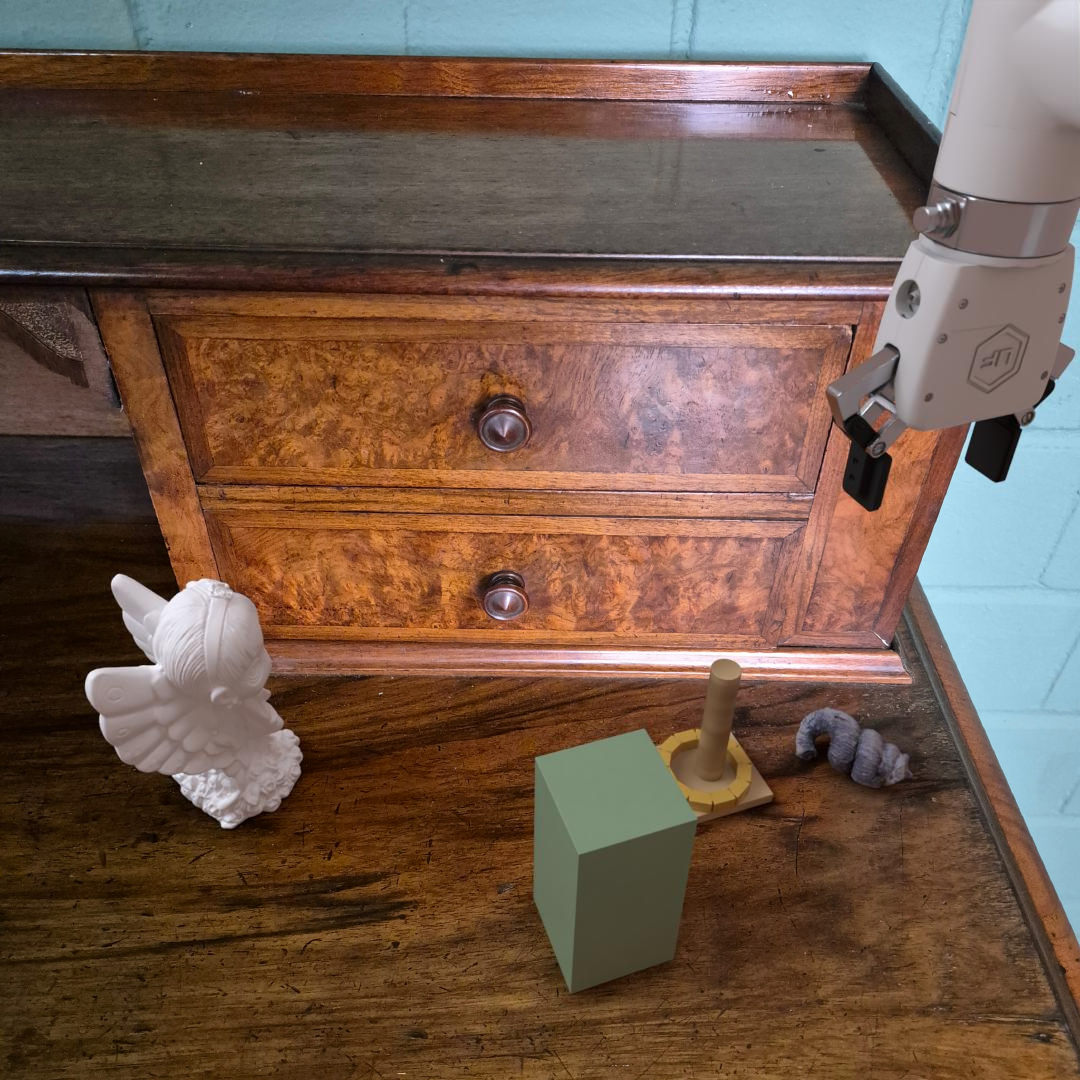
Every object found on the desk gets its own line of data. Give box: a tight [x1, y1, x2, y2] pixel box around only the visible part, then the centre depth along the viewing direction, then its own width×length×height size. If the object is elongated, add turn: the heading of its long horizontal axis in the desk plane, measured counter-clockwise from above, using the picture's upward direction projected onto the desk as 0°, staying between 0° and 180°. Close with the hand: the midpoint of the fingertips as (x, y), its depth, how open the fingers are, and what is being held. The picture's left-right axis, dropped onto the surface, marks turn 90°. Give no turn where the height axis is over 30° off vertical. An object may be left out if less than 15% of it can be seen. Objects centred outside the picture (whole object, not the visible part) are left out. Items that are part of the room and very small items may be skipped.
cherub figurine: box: [84, 573, 304, 830], centre depth 75 cm, size 13×12×20 cm
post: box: [655, 658, 774, 825], centre depth 78 cm, size 8×8×13 cm
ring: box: [658, 728, 752, 813], centre depth 81 cm, size 8×8×1 cm
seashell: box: [795, 706, 914, 789], centre depth 82 cm, size 5×5×10 cm
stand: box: [532, 728, 698, 995], centre depth 66 cm, size 8×8×16 cm
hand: (923, 485), depth 61 cm, fingers open, 9 cm apart
